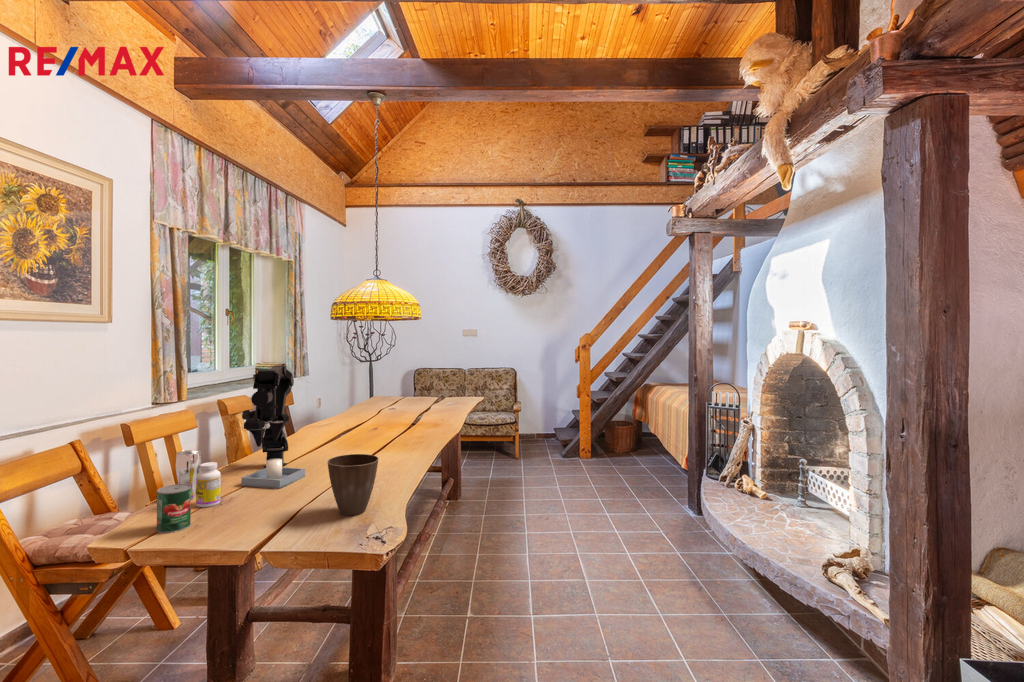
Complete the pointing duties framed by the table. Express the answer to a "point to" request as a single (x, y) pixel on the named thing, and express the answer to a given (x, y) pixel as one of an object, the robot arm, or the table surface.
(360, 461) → the plant pot
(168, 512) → the canned tomato
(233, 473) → the table surface
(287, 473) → the tray
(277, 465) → the cream rounded block
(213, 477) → the supplement bottle
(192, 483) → the light grey tall piece
